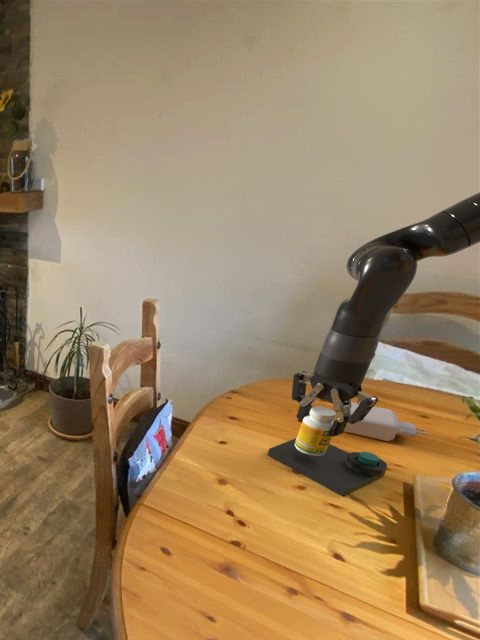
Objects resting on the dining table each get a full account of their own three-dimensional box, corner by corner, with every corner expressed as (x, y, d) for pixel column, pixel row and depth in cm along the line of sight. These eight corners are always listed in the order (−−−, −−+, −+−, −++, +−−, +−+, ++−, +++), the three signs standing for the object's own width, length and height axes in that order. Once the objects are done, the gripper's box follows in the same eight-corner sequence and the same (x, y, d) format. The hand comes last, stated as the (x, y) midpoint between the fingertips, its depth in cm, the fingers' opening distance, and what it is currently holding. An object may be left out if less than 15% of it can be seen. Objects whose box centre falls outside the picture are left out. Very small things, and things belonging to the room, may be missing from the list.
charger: (425, 451, 91) (337, 432, 99) (418, 432, 98) (336, 414, 106) (435, 434, 89) (344, 415, 97) (427, 414, 95) (342, 398, 104)
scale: (386, 478, 84) (393, 464, 83) (345, 498, 80) (351, 484, 79) (306, 439, 97) (311, 427, 96) (266, 455, 93) (271, 442, 91)
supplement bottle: (302, 439, 92) (316, 401, 88) (330, 451, 88) (346, 412, 83) (288, 447, 90) (301, 409, 85) (316, 460, 85) (332, 420, 81)
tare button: (379, 464, 84) (383, 457, 83) (371, 468, 83) (373, 462, 82) (362, 456, 86) (365, 449, 86) (353, 460, 85) (356, 453, 85)
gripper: (293, 345, 83) (270, 416, 91) (380, 371, 71) (345, 451, 79) (317, 338, 86) (293, 408, 93) (405, 362, 74) (369, 441, 81)
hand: (317, 427), depth 86 cm, fingers closed on supplement bottle, 5 cm apart
